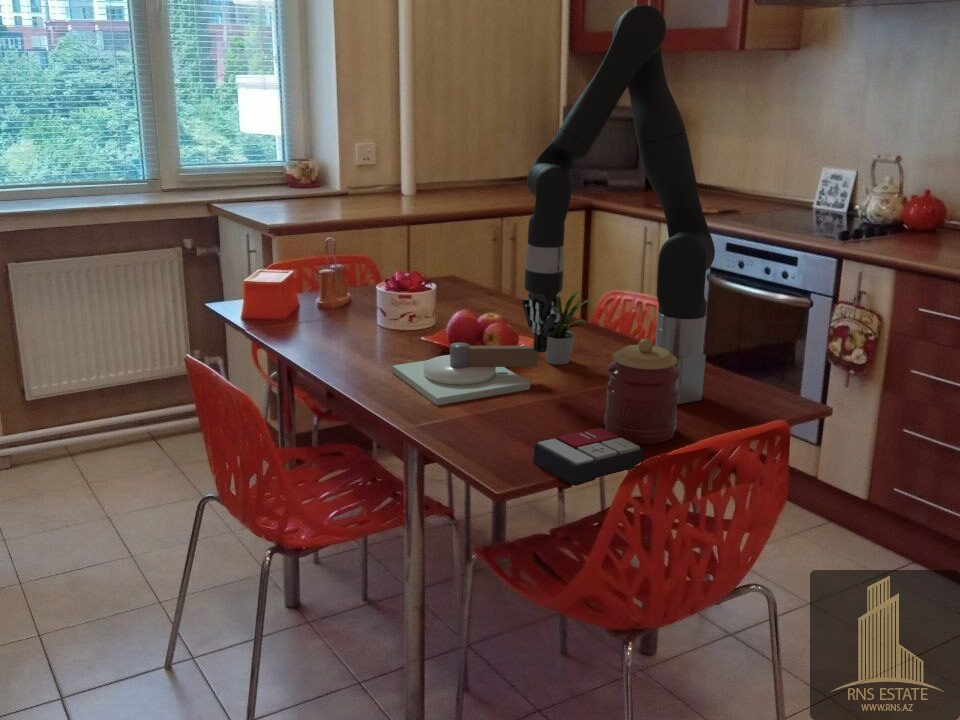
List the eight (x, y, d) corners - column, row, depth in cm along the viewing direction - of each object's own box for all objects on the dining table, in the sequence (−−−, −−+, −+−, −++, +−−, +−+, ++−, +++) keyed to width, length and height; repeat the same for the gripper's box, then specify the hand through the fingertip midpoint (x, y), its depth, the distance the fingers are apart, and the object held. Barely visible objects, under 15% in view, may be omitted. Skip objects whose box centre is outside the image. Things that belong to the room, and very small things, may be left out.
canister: (659, 416, 179) (666, 327, 173) (687, 442, 167) (696, 347, 161) (594, 420, 176) (599, 330, 171) (618, 448, 164) (624, 351, 159)
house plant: (594, 352, 216) (598, 283, 211) (595, 371, 203) (600, 298, 198) (532, 349, 218) (535, 280, 213) (529, 368, 205) (532, 295, 199)
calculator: (645, 445, 157) (577, 462, 148) (642, 469, 158) (574, 487, 150) (600, 424, 165) (533, 439, 157) (598, 447, 167) (531, 463, 158)
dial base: (529, 389, 192) (530, 381, 192) (436, 405, 183) (436, 397, 182) (479, 359, 210) (479, 351, 210) (392, 372, 201) (392, 364, 200)
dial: (423, 384, 188) (423, 356, 187) (423, 361, 203) (423, 334, 201) (540, 384, 190) (541, 356, 188) (532, 360, 204) (533, 334, 202)
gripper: (579, 272, 180) (573, 358, 186) (543, 258, 191) (539, 339, 197) (545, 276, 177) (540, 363, 182) (511, 261, 188) (507, 343, 193)
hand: (539, 351), depth 190 cm, fingers closed
